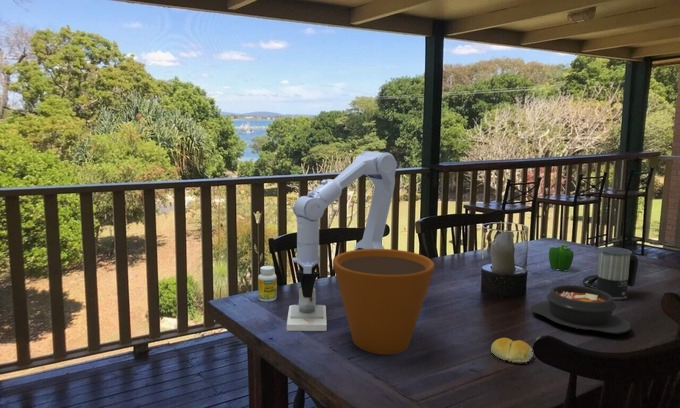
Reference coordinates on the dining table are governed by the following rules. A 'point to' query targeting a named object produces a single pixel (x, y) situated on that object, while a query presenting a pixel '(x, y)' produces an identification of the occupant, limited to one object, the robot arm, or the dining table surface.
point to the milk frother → (614, 271)
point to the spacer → (306, 302)
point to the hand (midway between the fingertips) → (307, 292)
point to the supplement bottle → (267, 284)
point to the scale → (306, 319)
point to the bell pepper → (561, 257)
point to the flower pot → (382, 296)
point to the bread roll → (512, 350)
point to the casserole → (582, 309)
